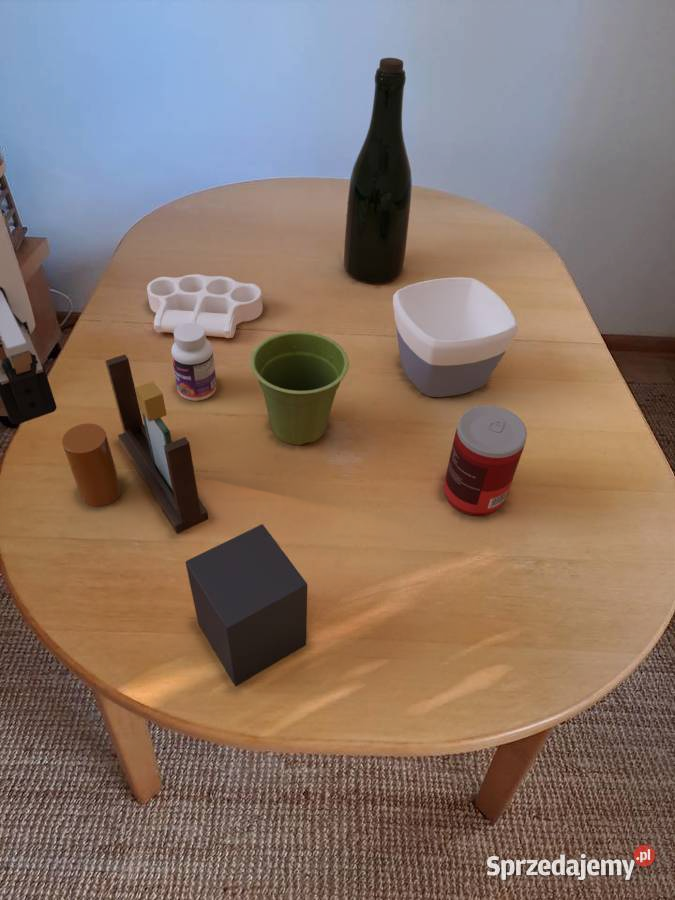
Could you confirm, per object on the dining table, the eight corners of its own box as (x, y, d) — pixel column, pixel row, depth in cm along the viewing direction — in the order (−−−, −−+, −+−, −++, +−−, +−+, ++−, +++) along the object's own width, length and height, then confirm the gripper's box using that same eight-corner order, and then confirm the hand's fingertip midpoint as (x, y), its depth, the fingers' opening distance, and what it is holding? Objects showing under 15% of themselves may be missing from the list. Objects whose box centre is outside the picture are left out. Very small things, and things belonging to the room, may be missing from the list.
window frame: (176, 534, 76) (159, 454, 66) (119, 443, 85) (98, 362, 76) (209, 519, 77) (196, 439, 68) (149, 432, 87) (131, 351, 78)
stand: (235, 687, 64) (226, 628, 56) (198, 623, 68) (184, 561, 60) (306, 645, 67) (308, 584, 59) (266, 587, 71) (262, 523, 64)
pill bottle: (170, 387, 93) (159, 329, 86) (202, 371, 96) (195, 314, 89) (192, 407, 91) (183, 349, 84) (224, 390, 93) (218, 333, 86)
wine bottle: (407, 260, 120) (434, 53, 96) (396, 290, 113) (422, 75, 89) (351, 250, 122) (363, 45, 98) (336, 280, 114) (346, 66, 91)
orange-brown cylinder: (89, 512, 77) (70, 458, 71) (75, 486, 80) (56, 432, 74) (127, 496, 79) (112, 442, 73) (112, 471, 82) (96, 417, 75)
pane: (172, 504, 76) (153, 413, 66) (147, 466, 80) (126, 375, 70) (188, 496, 77) (172, 406, 67) (163, 459, 81) (144, 369, 71)
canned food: (508, 476, 84) (530, 412, 76) (501, 525, 79) (524, 460, 71) (448, 463, 85) (463, 398, 77) (437, 509, 80) (452, 444, 72)
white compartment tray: (134, 336, 101) (160, 283, 111) (253, 345, 101) (267, 292, 111) (130, 317, 99) (157, 265, 109) (252, 327, 98) (267, 274, 108)
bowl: (464, 333, 105) (478, 270, 97) (514, 394, 95) (534, 330, 87) (374, 350, 101) (380, 285, 93) (416, 416, 91) (428, 350, 83)
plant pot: (250, 458, 84) (245, 390, 76) (258, 396, 93) (255, 328, 85) (344, 461, 85) (349, 394, 77) (344, 399, 93) (348, 332, 85)
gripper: (-168, 111, 42) (-68, 337, 54) (-113, 222, 32) (-5, 468, 44) (-41, 95, 45) (27, 311, 57) (44, 191, 36) (104, 427, 48)
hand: (13, 379), depth 51 cm, fingers open, 9 cm apart
